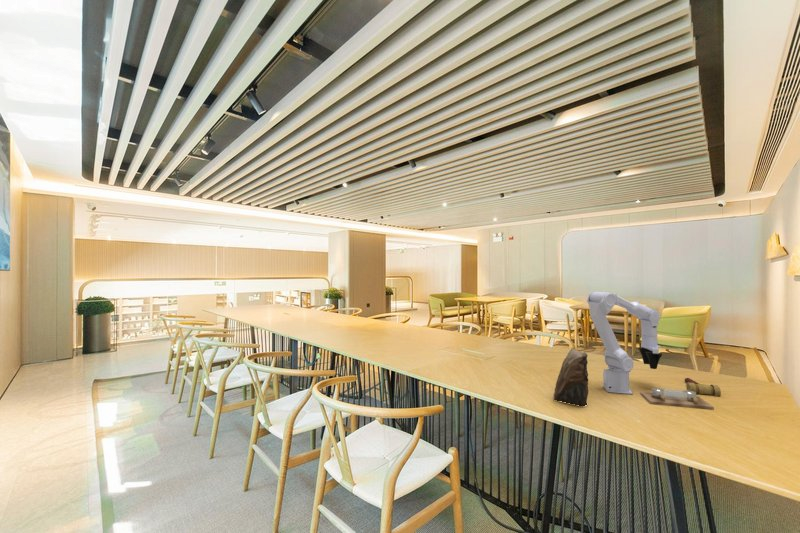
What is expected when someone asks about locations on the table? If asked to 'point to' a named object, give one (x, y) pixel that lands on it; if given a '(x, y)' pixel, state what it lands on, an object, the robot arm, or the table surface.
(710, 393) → the gavel
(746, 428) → the table surface
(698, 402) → the board
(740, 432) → the table surface
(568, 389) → the dark brown rock
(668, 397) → the silver ball-ended bar
